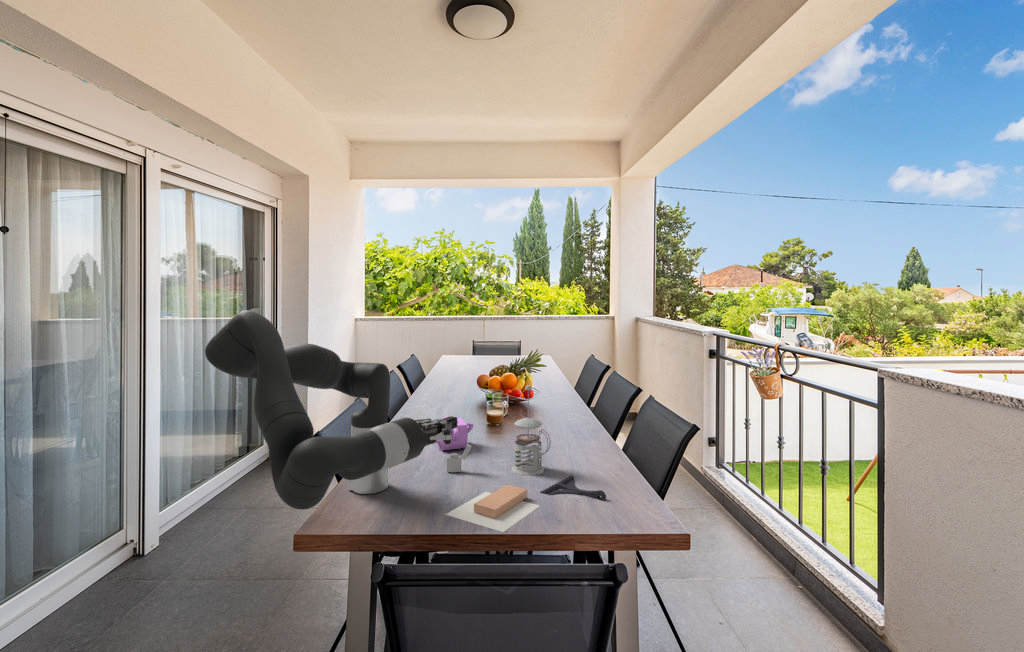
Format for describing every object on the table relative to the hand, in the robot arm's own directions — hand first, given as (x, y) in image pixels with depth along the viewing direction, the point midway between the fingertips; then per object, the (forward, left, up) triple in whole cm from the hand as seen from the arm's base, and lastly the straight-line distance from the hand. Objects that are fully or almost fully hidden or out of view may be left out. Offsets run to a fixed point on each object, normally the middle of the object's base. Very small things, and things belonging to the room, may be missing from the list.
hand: (454, 421), depth 101 cm
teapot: (-22, +62, -25) cm, 70 cm away
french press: (+8, +45, -25) cm, 52 cm away
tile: (+3, +11, -23) cm, 26 cm away
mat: (+4, +14, -25) cm, 29 cm away
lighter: (-12, +39, -25) cm, 48 cm away
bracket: (+23, +31, -26) cm, 46 cm away
